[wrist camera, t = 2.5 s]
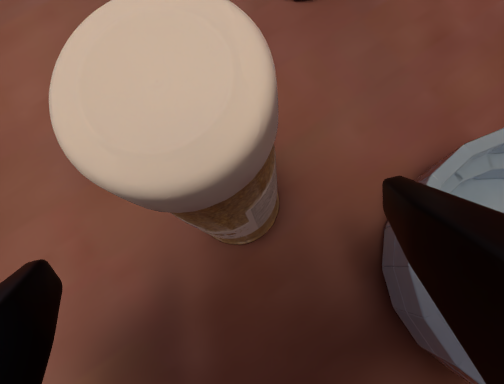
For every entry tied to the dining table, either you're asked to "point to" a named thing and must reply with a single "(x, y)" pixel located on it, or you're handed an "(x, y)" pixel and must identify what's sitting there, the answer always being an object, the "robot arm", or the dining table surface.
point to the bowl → (401, 273)
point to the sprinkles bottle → (173, 112)
